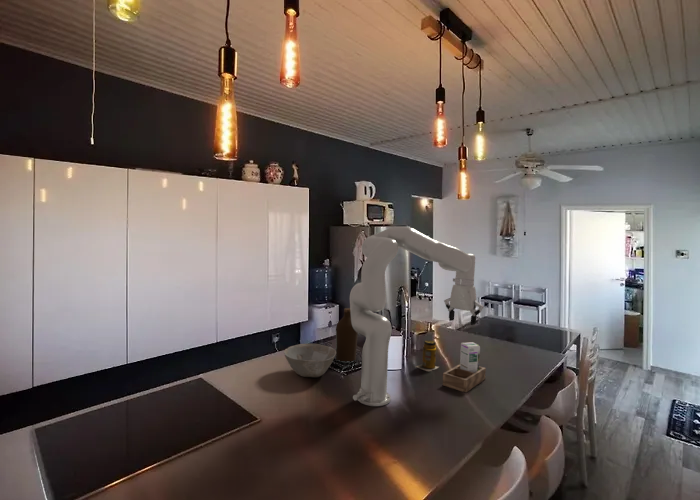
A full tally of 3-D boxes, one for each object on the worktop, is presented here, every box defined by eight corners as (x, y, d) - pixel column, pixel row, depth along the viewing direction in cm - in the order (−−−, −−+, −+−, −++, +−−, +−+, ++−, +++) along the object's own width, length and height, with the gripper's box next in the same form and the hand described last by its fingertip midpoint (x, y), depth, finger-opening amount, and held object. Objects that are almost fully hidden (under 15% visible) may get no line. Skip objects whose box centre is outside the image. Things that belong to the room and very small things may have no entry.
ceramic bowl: (311, 390, 147) (312, 364, 146) (271, 374, 161) (272, 351, 160) (346, 373, 164) (347, 351, 164) (308, 361, 178) (308, 340, 178)
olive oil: (360, 358, 184) (361, 307, 183) (352, 365, 174) (354, 312, 173) (339, 355, 188) (341, 305, 186) (331, 362, 178) (332, 309, 176)
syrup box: (467, 380, 159) (469, 346, 158) (459, 375, 164) (460, 342, 163) (478, 379, 160) (480, 345, 160) (470, 373, 166) (472, 341, 165)
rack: (465, 392, 149) (466, 380, 148) (442, 385, 155) (443, 373, 155) (485, 379, 163) (485, 368, 163) (463, 373, 170) (463, 362, 169)
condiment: (439, 367, 176) (440, 342, 175) (428, 371, 170) (429, 345, 169) (426, 363, 181) (427, 338, 180) (415, 367, 175) (416, 341, 174)
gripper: (441, 280, 163) (439, 319, 164) (480, 285, 152) (477, 328, 152) (450, 279, 169) (447, 317, 170) (488, 284, 157) (485, 325, 158)
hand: (462, 322), depth 161 cm, fingers open, 9 cm apart
